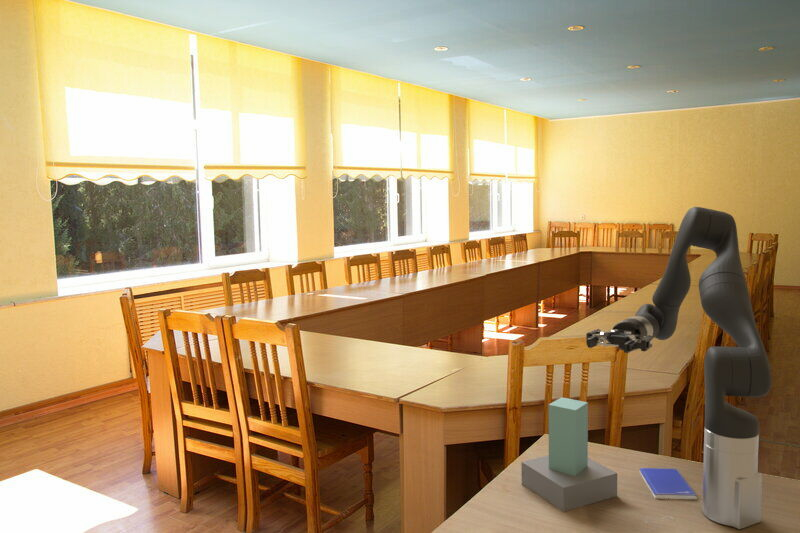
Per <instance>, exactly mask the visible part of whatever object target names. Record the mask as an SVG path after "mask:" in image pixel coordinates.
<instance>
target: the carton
mask: <svg viewBox="0 0 800 533" xmlns="http://www.w3.org/2000/svg"><path fill="white" fill-rule="evenodd" d="M588 431H589V402H587V401H582V400H579V399H578V400H577V399H572V398H568V397H562V396H561V397H559V398H558V399H556V400H554V401H552V402H550V403H548V455H549V469H552V470H556V471H559V472H563V473H567V474H570V475H574V476H576V475H577V474H578V473H580V472H581V471H582V470H583V469H585V468H586V467H587V466H588V458H589V457H588V456H589V455H588V454H589V452H588V450H589V449H588V448H589V445H588V443H589V440H588V439H589V438H588V437H589V434H588V433H589V432H588Z"/></svg>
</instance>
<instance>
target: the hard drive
mask: <svg viewBox="0 0 800 533" xmlns="http://www.w3.org/2000/svg"><path fill="white" fill-rule="evenodd" d="M640 473H641V474H640ZM639 474H640V475H642V476H641V477H642V479H643V481H644V482H645V484H646V486H647V488H648V489H649V491H650V493H651V494H652V495H653V497H654V498H655V499H664V500H665V499H668V498H669V499H670V500H679V499H680V500H697V498H698V496H697V494H696V492H694V490H693V488H692V487H691V486H690V484H689V483H688V482H687V481H686V480H685V478H684V477H683V476H682V474H681V473H680V472H679V470H678V469H677V468H658V467H657V468H654V467H652V468H649V467H642V468H639ZM669 499H668V500H669Z"/></svg>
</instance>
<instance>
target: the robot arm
mask: <svg viewBox="0 0 800 533" xmlns="http://www.w3.org/2000/svg"><path fill="white" fill-rule="evenodd" d="M673 242H674V243H673V246H672V247H671V248H672V249H671V252H670V254H669V255H670V256H669V258H668V261H667V265H666V268H665V271H664V273H663V275H662V277H661V278H660V279H661V280H660V281H659V284H658V285H657V287H656V289H655V291H654V293H653V295H652V297H651V298H652V299H651V300H652V304H651V303H644V304H643V305H641V306H640V307H639V308H638V310H637V311H636V313H635V315H634V316H630V317H627V318H626V319H624V320H620V321H618V322H617V323H615V325H613V327H612V329H611V330H606V331H601V329H599V328H597V329H594V330H592V331H591V330H590V331H587V332H586V334H585V335H586V336H585V337H586V339H585V340H586V342H585V344H586V346H587V348H589V349H593V348H594V347H597V346H602V347H604V348H605V347H615V348H616V347H617V349H619V350H621V351H623V352H624V353H625V354H629V353H630V352H633V351H634V352H637V351H638V350H640V351H641V352H647V351H648V350H650V349H651V348H653V339H656V340H659V341H666V340H668V339H670V338H671V337H672V336H673V335H674V333H675V331H676V329H677V326H678V319H679V313H680V308H681V306H682V304H683V302H684V300H685V298H686V296H687V294H688V293H689V291H690V288H691V284H692V280H691V279H692V278H691V273H690V269H689V264H688V258H687V256H688V251H689V249H690V247H691V246H693V247H696V248H700V249H705V250H709V251H710V250H711V251H713V252H714V253H715V256H716V257H715V259H714V260H713V261H712V262H711V263H710V264H709V265H708V266H707V267H706V268H705V269H704V270H703V271H702V273H701V275H700V277H699V279H698V292H699V297H700V304H701V308H702V309H703V311H704V313H705V314H706V316H707V317H708V318H710V320H711V321H713V322H714V324H716V326H718V327H719V328H721V329H722V330H723V331H724V332H725V333H727V335H728V336H730V338H731V339H732V340H733V341H734V342H735V344H736V346H720V345H718V346H710V347H708V348H707V350H706V352H705V355H704V361H703V362H704V364H703V366H704V367H703V370H704V371H703V373H704V374H703V376H704V430H703V431H704V433H703V435H704V437H703V440H704V441H703V464H702V465H703V469H702V472H703V473H702V474H703V476H702V477H703V478H702V513H703V515H704V516H705V517H707V518H708V519H709V520H710V521H713V522H714V523H718V524H720V525H724V526H729V527H734V528H736V529H738V530H741V529H745V528H748V527H751V526H753V525H755V524H758V523H761V522H762V502H763V500H762V498H763V474H762V473H761V472H759V470H758V469H759V468H758V466H759V465H758V464H759V444H760V443H759V442H760V440H759V439H760V438H759V437H760V421H759V418H757V416H756V415H754V414H753V413H752V412H750V411H747V410H745V409H741V408H739V407H736V406H734V405H732V404H731V403H729V402H728V401H726V400H725V398H726V396H727V397H742V398H743V397H744V398H761V397H765V396H767V395H768V394H769V392H771V389H772V383H773V382H772V370H771V365H770V361H769V358H768V355H767V352H766V349H765V346H764V343H763V341H762V337H761V335H760V333H759V329H758V327H757V324H756V320H755V316H754V311H753V307H752V302H751V296H750V291H749V288H748V284H747V280H746V277H745V273H744V269H743V265H742V261H741V255H740V246H739V237H738V230H737V223H736V221H735V218H734V217H733V215H731V214H730V213H728V212H725V211H722V210H721V211H720V210H716V209H710V208H706V207H702V206H701V207H700V206H693V207H691V208H689V209H688V210H687V211H686V213H685V214H684V216H683V218H682V219H681V222H680V225H679V228H678V231H677V234H676V237H675V239H674V241H673Z"/></svg>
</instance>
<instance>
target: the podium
mask: <svg viewBox="0 0 800 533" xmlns="http://www.w3.org/2000/svg"><path fill="white" fill-rule="evenodd" d="M521 485H523V486H525V487H526V488H527V489H529V490H530V491H531V492H533V493H534V494H537V495H538V497H540V498H542V499H543V500H545V501H547V502H548V503H550V504H551V505H552V506H554V507H556V508H557V509H559V511H562V512H563V513H565V512H569V511H571V510H574V509H578V508H582V507H585V506H588V505H591V504H594V503H599V502H601V501H606V500H609V499H613V498H616V497H618V472H616V471H614V470H613V469H611V468H609V467H607V466H605V465H602V464H601V463H599V462H597V461H595V460H593V459H592V458H589V457H588V466H587V467H586V468H585V469H583V470H582V471H581V472H580V473H578V474H577V475H576V476H574V475H570V474H567V473H563V472H559V471H556V470H552V469H549V454H548V455H544V456H539V457H536V458H531V459H527V460H524V461H523V460H522V461H521Z"/></svg>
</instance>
